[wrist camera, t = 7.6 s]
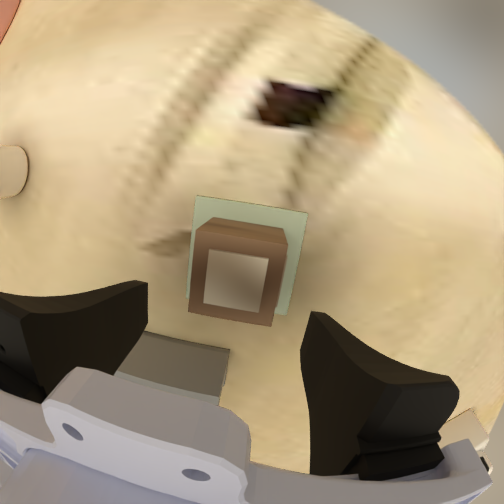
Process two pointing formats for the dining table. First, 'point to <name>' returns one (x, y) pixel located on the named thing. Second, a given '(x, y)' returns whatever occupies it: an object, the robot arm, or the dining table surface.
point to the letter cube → (237, 270)
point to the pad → (255, 214)
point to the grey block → (176, 367)
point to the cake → (7, 14)
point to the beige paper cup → (12, 170)
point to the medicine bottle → (466, 434)
